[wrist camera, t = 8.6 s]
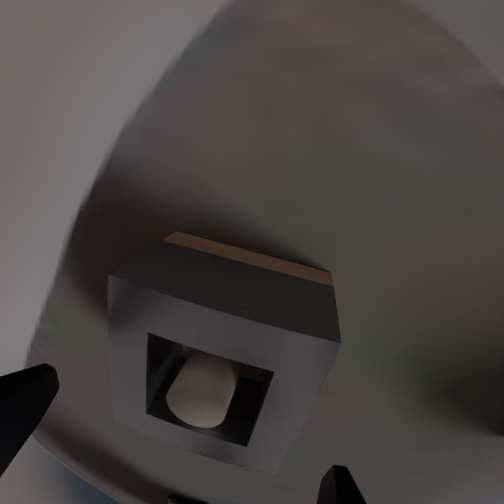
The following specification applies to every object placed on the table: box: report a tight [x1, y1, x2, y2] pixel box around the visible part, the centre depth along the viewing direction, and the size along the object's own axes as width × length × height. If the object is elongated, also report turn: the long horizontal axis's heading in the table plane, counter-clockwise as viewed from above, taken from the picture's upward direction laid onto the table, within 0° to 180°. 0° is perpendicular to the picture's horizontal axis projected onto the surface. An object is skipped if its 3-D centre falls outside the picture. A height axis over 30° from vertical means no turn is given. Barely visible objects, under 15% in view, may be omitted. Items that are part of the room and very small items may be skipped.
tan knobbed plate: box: [163, 231, 333, 428], centre depth 12 cm, size 7×7×6 cm
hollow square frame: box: [108, 240, 341, 474], centre depth 12 cm, size 7×7×4 cm
